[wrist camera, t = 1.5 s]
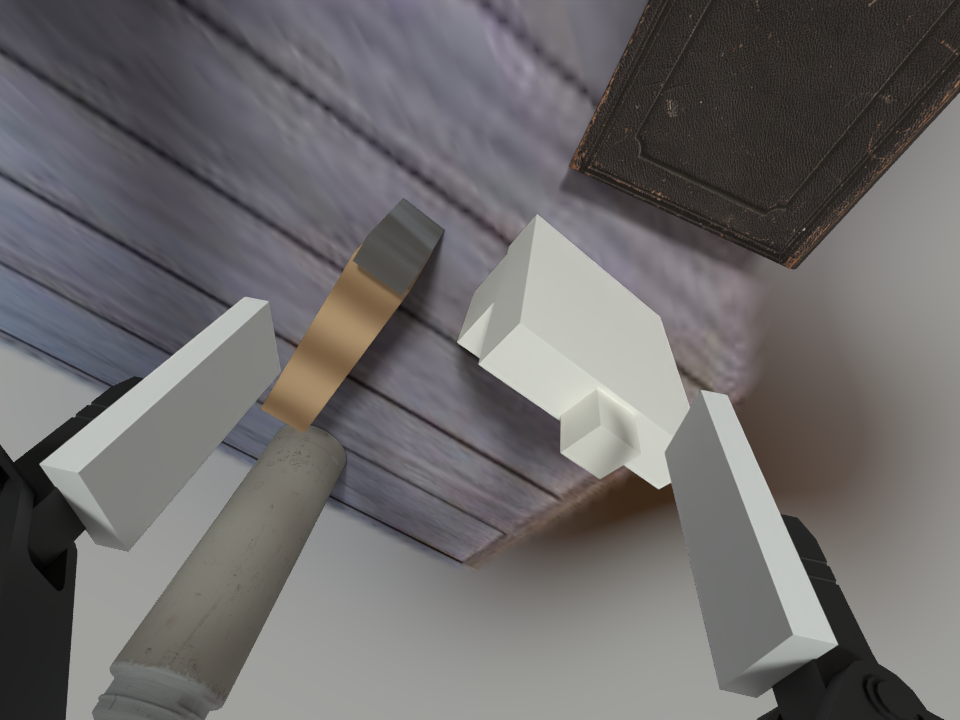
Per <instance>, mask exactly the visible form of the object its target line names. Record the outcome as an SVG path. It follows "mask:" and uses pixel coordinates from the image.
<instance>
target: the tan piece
mask: <svg viewBox="0 0 960 720" xmlns="http://www.w3.org/2000/svg"><path fill="white" fill-rule="evenodd" d="M444 231H445V230H444V229H443V228H442V227H440V226H439V225H438V224H436V223H435V222H434V221H433V220H431V219H430V218H429V217H427V216H426V215H425V214H423V213H422V212H421V211H420V210H418V209H417V208H416V207H414V206H413V205H412V204H410V203H409V202H408V201H407V200H405V199H404V198H403V199H402V200H401V201H400V202H399V203H398V204H397V205H396V206H395V208H394V209H393V210H392V211H391V212H390V213H389V214H388V215H387V216H386V217H385V218H384V219H383V220H382V221H381V222H380V223H379V224H378V225H377V226H376V227H375V228H374V229H373V230H372V232H371V233H370V234H369V235H368V236H367V237H366V239H365V241H364V242H363V244H362V245H361V246H360V247H359V248H358V249H357V250H356V251H355V252H354V254H353V256H352V257H351V259H350V261H349V262H348V264H347V266H346V267H345V269H344V271H343V272H342V274H341V276H340V277H339V279H338V281H337V282H336V284H335V286H334V287H333V289H332V291H331V292H330V294H329V296H328V297H327V299H326V301H325V302H324V304H323V306H322V307H321V309H320V311H319V312H318V314H317V316H316V317H315V319H314V321H313V322H312V324H311V326H310V327H309V329H308V331H307V332H306V334H305V336H304V337H303V339H302V341H301V342H300V344H299V346H298V347H297V349H296V351H295V352H294V354H293V356H292V357H291V359H290V361H289V362H288V364H287V366H286V367H285V369H284V371H283V372H282V374H281V376H280V377H279V379H278V381H277V382H276V384H275V386H274V387H273V389H272V391H271V392H270V394H269V396H268V397H267V399H266V401H265V402H264V404H263V406H262V407H261V409H262V410H263V411H265V412H267V413H269V414H270V415H272V416H274V417H276V418H277V419H279V420H281V421H283V422H284V423H286V424H288V425H290V426H292V427H293V428H295V429H297V430H299V431H300V432H302V433H305V431H306V430H307V429H308V427H309V426H310V425H311V423H312V422H313V420H314V419H315V418H316V416H317V415H318V414H319V412H320V411H321V410H322V408H323V407H324V406H325V404H326V403H327V402H328V400H329V399H330V398H331V396H332V395H333V394H334V392H335V391H336V390H337V388H338V387H339V386H340V384H341V383H342V381H343V380H344V379H345V377H346V376H347V375H348V373H349V372H350V371H351V369H352V368H353V367H354V365H355V364H356V363H357V361H358V360H359V359H360V357H361V356H362V355H363V353H364V352H365V351H366V349H367V348H368V347H369V345H370V344H371V342H372V341H373V340H374V338H375V337H376V336H377V334H378V333H379V332H380V330H381V329H382V328H383V326H384V325H385V324H386V322H387V321H388V320H389V318H390V317H391V316H392V314H393V313H394V312H395V310H396V309H397V308H398V306H399V305H400V304H401V302H402V301H403V299H404V298H405V297H406V295H407V294H408V293H409V291H410V290H411V288H412V287H413V285H414V283H415V282H416V280H417V278H418V276H419V275H420V273H421V271H422V270H423V268H424V266H425V265H426V263H427V261H428V260H429V258H430V256H431V255H432V253H433V252H432V250H433V249H434V247H435V245H436V244H437V242H438V240H439V239H440V237H441V235H442V234H443V232H444Z"/></svg>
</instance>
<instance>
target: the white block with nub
mask: <svg viewBox="0 0 960 720" xmlns="http://www.w3.org/2000/svg"><path fill="white" fill-rule="evenodd" d="M457 343H459V344H460V345H461V346H463V347H464V348H466V349H467V350H469V351H470V352H471V353H473V354H474V355H476V356H477V357H479V358H480V360H479V363H478V365H480V366H481V367H483V368H484V369H485V370H487V371H488V372H490V373H491V374H493V375H494V376H496V377H497V378H498V379H500V380H501V381H503V382H504V383H506V384H507V385H509V386H510V387H511V388H513V389H514V390H516V391H517V392H519V393H520V394H522V395H523V396H524V397H526V398H527V399H529V400H530V401H532V402H533V403H535V404H536V405H538V406H539V407H540V408H542V409H543V410H545V411H546V412H548V413H549V414H551V415H552V416H553V417H555V418H556V419H558V420H559V421H561V437H560V453H561V454H563V455H564V456H566V457H567V458H569V459H570V460H572V461H573V462H575V463H576V464H578V465H579V466H581V467H582V468H584V469H585V470H587V471H588V472H590V473H591V474H593V475H594V476H596V477H597V478H599V479H601V478H603V477H604V476H606V475H608V474H609V473H611V472H613V471H614V470H616V469H618V468H619V467H621V466H623V465H624V466H626V467H627V468H629V469H630V470H632V471H633V472H634V473H636V474H637V475H639V476H640V477H642V478H643V479H645V480H646V481H648V482H649V483H650V484H652V485H653V486H655V487H656V488H658V489H660V488H662V487H664V486H665V485H667V484H669V483H671V479H670V475H669V470H668V466H667V462H666V457H665V453H664V452H665V451H666V449H667V447H668V445H669V444H670V442H671V440H672V438H673V437H674V435H675V433H676V432H677V430H678V428H679V426H680V425H681V423H682V421H683V420H684V418H685V416H686V414H687V413H688V411H689V409H690V406H689V403H688V400H687V397H686V394H685V391H684V388H683V385H682V382H681V379H680V376H679V373H678V370H677V367H676V364H675V361H674V358H673V355H672V352H671V349H670V346H669V343H668V339H667V336H666V333H665V330H664V327H663V324H662V321H661V318H660V316H658V315H657V314H656V313H655V312H654V311H652V310H651V309H650V308H649V307H648V306H646V305H645V304H644V303H643V302H642V301H640V300H639V299H638V298H637V297H636V296H634V295H633V294H632V293H631V292H630V291H628V290H627V289H626V288H625V287H624V286H623V285H621V284H620V283H619V282H618V281H617V280H615V279H614V278H613V277H612V276H611V275H609V274H608V273H607V272H606V271H605V270H603V269H602V268H601V267H600V266H599V265H597V264H596V263H595V262H594V261H593V260H591V259H590V258H589V257H588V256H587V255H585V254H584V253H583V252H582V251H581V250H579V249H578V248H577V247H576V246H575V245H573V244H572V243H571V242H570V241H569V240H568V239H566V238H565V237H564V236H563V235H562V234H560V233H559V232H558V231H557V230H556V229H554V228H553V227H552V226H551V225H550V224H548V223H547V222H546V221H545V220H544V219H542V218H541V217H540V216H539V215H538V214H536V215H535V217H534V218H533V219H532V220H531V221H530V222H529V224H528V225H527V226H526V227H525V228H524V230H523V231H522V232H521V233H520V234H519V235H518V237H517V238H516V239H515V240H514V241H513V242H512V244H511V245H510V246H509V248H508V252H507V255H506V256H505V257H504V258H503V259H502V260H501V262H500V263H499V264H498V265H497V266H496V267H495V269H494V270H493V271H492V272H491V273H490V274H489V276H488V277H487V278H486V279H485V280H484V281H483V282H482V284H481V285H480V286H479V287H478V288H477V289H476V291H475V292H474V295H473V298H472V301H471V304H470V307H469V309H468V312H467V315H466V318H465V321H464V324H463V327H462V330H461V333H460V335H459V338H458V341H457Z"/></svg>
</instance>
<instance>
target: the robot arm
mask: <svg viewBox="0 0 960 720" xmlns="http://www.w3.org/2000/svg"><path fill="white" fill-rule="evenodd" d="M280 372H281V369H280V363H279V357H278V351H277V346H276V340H275V334H274V328H273V322H272V316H271V311H270V305H269V301H264V300H259V299H254V298H250V297H244V298H242V299H241V300H240V301H239V302H238V303H236V304H235V305H234V306H233V307H231V308H230V309H229V310H228V311H226V312H225V313H224V314H223V315H222V316H220V317H219V318H218V319H217V320H215V321H214V322H213V323H212V324H211V325H209V326H208V327H207V328H206V329H204V330H203V331H202V332H201V333H199V334H198V335H197V336H196V337H195V338H193V339H192V340H191V341H190V342H188V343H187V344H186V345H185V346H184V347H182V348H181V349H180V350H179V351H177V352H176V353H175V354H174V355H172V356H171V357H170V358H169V359H168V360H166V361H165V362H164V363H163V364H161V365H160V366H159V367H158V368H157V369H155V370H154V371H153V372H152V373H150V374H149V375H148V376H147V377H146V378H139V377H135V376H134V377H132V378H130V379H128V380H126V381H123V382H121V383H119V384H117V385H115V386H113V387H110V388H109V389H108V390H107V391H105V392H104V393H103V394H101V395H100V396H99V397H98V398H96V399H95V400H94V401H93V402H92V404H91V405H90V406H89V405H87V406H86V407H85V408H83V409H82V410H81V411H79V412H78V413H77V414H76V417H75V418H73V417H72V418H70V419H69V420H68V421H67V422H65V423H64V424H63V425H61V426H60V427H59V428H57V429H56V430H55V431H54V432H52V433H51V434H50V435H48V436H47V437H46V438H45V439H43V440H42V441H41V442H39V443H38V444H37V445H36V446H34V447H33V448H32V449H30V450H29V451H28V452H26V453H25V454H24V455H23V456H21V457H20V458H19V459H17V460H16V461H15V462H13V461H12V460H11V458H10V457H9V456H8V454H7V453H6V452H5V450H4V449H3V448H2V446H1V445H0V720H65V719H66V706H67V692H68V678H69V663H70V650H71V636H72V621H73V607H74V591H75V579H76V565H77V548H76V544H75V543H74V541H75V540H76V539H77V537H78V536H79V535H80V534H81V533H82V532H83V531H84V530H86V531H87V532H88V534H89V535H90V537H91V538H92V539H93V541H94V542H95V544H97V545H102V546H106V547H111V548H115V549H119V550H123V551H127V552H128V551H129V550H130V549H131V548H132V547H133V546H134V544H135V543H136V542H137V541H138V540H139V539H140V537H141V536H142V535H143V534H144V533H145V531H146V530H147V529H148V528H149V527H150V526H151V524H152V523H153V522H154V521H155V520H156V518H157V517H158V516H159V515H160V514H161V513H162V511H163V510H164V509H165V508H166V507H167V505H168V504H169V503H170V502H171V501H172V500H173V498H174V497H175V496H176V495H177V493H178V492H179V491H180V490H181V489H182V488H183V487H184V485H185V484H186V483H187V482H188V481H189V479H190V478H191V477H192V476H193V475H194V474H195V472H196V471H197V470H198V469H199V468H200V466H201V465H202V464H203V463H204V462H205V461H206V459H207V458H208V457H209V456H210V455H211V454H212V452H213V451H214V450H215V449H216V448H217V446H218V445H219V444H220V443H221V442H222V441H223V439H224V438H225V437H226V436H227V435H228V433H229V432H230V431H231V430H232V429H233V428H234V426H235V425H236V424H237V423H238V422H239V420H240V419H241V418H242V417H243V416H244V415H245V413H246V412H247V411H248V410H249V409H250V407H251V406H252V405H253V404H254V403H255V402H256V400H257V399H258V398H259V397H260V396H261V394H262V393H263V392H264V391H265V390H266V389H267V387H268V386H269V385H270V384H271V383H272V381H273V380H274V379H275V378H276V377H277V376H278V374H279V373H280ZM664 453H665V457H666V462H667V466H668V470H669V475H670V479H671V483H672V487H673V492H674V496H675V500H676V504H677V508H678V513H679V517H680V521H681V526H682V530H683V534H684V538H685V543H686V547H687V551H688V556H689V560H690V564H691V568H692V572H693V577H694V581H695V586H696V590H697V594H698V598H699V603H700V607H701V611H702V615H703V620H704V624H705V628H706V632H707V637H708V641H709V645H710V649H711V654H712V658H713V662H714V667H715V671H716V675H717V679H718V684H719V688H720V689H721V690H725V691H729V692H734V693H738V694H742V695H746V696H751V697H755V698H757V697H759V696H760V695H762V694H763V693H765V692H766V691H768V690H769V689H771V688H773V692H774V695H775V698H776V701H777V704H778V707H776V708H774V709H773V710H771V711H769V712H768V713H766V714H764V715H763V716H761V717H759V718H758V719H757V720H944V719H941V718H940V717H938V716H936V715H934V714H933V713H931V712H929V711H927V710H926V708H925V707H924V705H923V704H922V702H921V701H920V700H919V698H918V697H917V696H916V694H915V693H914V692H913V690H912V689H910V687H908V686H907V685H906V684H905V683H904V682H903V681H902V680H901V679H900V678H899V677H898V676H897V675H895V674H894V673H892V672H891V671H889V670H888V669H886V668H884V667H883V666H881V665H879V664H878V662H877V661H876V659H875V657H874V655H873V654H872V652H871V650H870V647H869V646H868V643H867V642H866V639H865V637H864V635H863V633H862V631H861V629H860V627H859V625H858V623H857V621H856V619H855V617H854V615H853V613H852V611H851V609H850V607H849V605H848V603H847V601H846V599H845V597H844V595H843V593H842V591H841V589H840V587H839V585H836V579H835V577H834V575H833V573H832V571H831V569H830V567H829V566H827V564H826V563H827V561H826V559H825V556H824V554H823V552H822V550H821V548H820V547H819V544H818V542H817V540H816V539H815V538H814V536H813V535H812V534H811V533H810V532H809V530H808V529H807V528H806V527H805V526H804V525H803V524H802V522H801V521H800V520H799V519H798V518H796V517H792V516H787V515H782V514H780V513H779V511H778V508H777V506H776V504H775V502H774V499H773V497H772V495H771V493H770V490H769V488H768V486H767V484H766V482H765V479H764V477H763V475H762V473H761V470H760V468H759V466H758V464H757V461H756V459H755V457H754V454H753V452H752V450H751V448H750V446H749V443H748V441H747V439H746V437H745V434H744V432H743V430H742V428H741V425H740V423H739V421H738V419H737V416H736V414H735V412H734V410H733V407H732V405H731V403H730V401H729V398H728V396H727V395H724V394H719V393H714V392H709V391H704V390H700V392H699V394H698V395H697V397H696V399H695V401H694V402H693V404H692V406H691V407H690V409H689V411H688V413H687V414H686V416H685V418H684V420H683V421H682V423H681V425H680V426H679V428H678V430H677V432H676V433H675V435H674V437H673V438H672V440H671V442H670V444H669V445H668V447H667V449H666V451H665V452H664Z"/></svg>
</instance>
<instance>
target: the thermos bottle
mask: <svg viewBox="0 0 960 720" xmlns="http://www.w3.org/2000/svg"><path fill="white" fill-rule="evenodd" d="M346 459H347V458H346V453H345V450H344V448H343V446H342V445H341V443H340V442H339V441H338V440H337V439H336V438H335V437H333V436H332V435H331V434H329V433H328V432H326V431H324V430H323V429H320V428H318V427H315V426H312V425H310V426H309V427H308V429H307V430H306V431H305V433H302V432H300V431H299V430H297V429H295V428H293V427H292V426H290V425H286V426H284V427H282V428H281V429H280V430H279V431H278V432H277V434H276V435H275V436H274V438H273V439H272V440H271V442H270V443H269V444H268V446H267V447H266V449H265V450H264V452H263V453H262V455H261V456H260V458H259V459H258V460H257V462H256V463H255V465H254V466H253V467H252V469H251V470H250V471H249V473H248V474H247V476H246V477H245V478H244V480H243V481H242V483H241V484H240V485H239V487H238V488H237V490H236V491H235V492H234V494H233V495H232V497H231V498H230V499H229V501H228V503H227V504H226V505H225V507H224V508H223V510H222V511H221V512H220V514H219V515H218V517H217V518H216V520H215V521H214V522H213V524H212V525H211V527H210V528H209V529H208V531H207V532H206V533H205V535H204V536H203V537H202V539H201V540H200V541H199V543H198V544H197V546H196V547H195V548H194V550H193V551H192V553H191V554H190V555H189V557H188V558H187V560H186V561H185V562H184V564H183V565H182V567H181V568H180V569H179V571H178V572H177V574H176V575H175V576H174V578H173V579H172V581H171V582H170V583H169V585H168V586H167V588H166V589H165V590H164V592H163V594H162V595H161V596H160V597H159V599H158V600H157V602H156V603H155V605H154V606H153V607H152V609H151V610H150V612H149V613H148V614H147V616H146V617H145V618H144V620H143V621H142V623H141V624H140V625H139V627H138V628H137V630H136V631H135V632H134V634H133V635H132V637H131V638H130V640H129V641H128V642H127V644H126V645H125V646H124V648H123V649H122V651H121V652H120V653H119V655H118V656H117V658H116V659H115V660H114V662H113V663H112V665H111V666H110V672H111V674H112V675H113V676H114V680H113V682H112V683H111V685H110V686H109V688H108V689H107V690H106V692H105V693H104V694H102V695H101V696H99V698H98V699H99V702H98V703H97V705H96V706H95V708H94V709H93V711H92V714H93V717H94V720H205V718H206V716H207V714H208V713H209V711H213V710H218V709H220V708H222V706H223V705H224V703H225V701H226V699H227V697H228V695H229V693H230V691H231V689H232V686H233V685H234V683H235V681H236V679H237V677H238V675H239V673H240V671H241V669H242V667H243V665H244V663H245V661H246V659H247V657H248V656H249V653H250V652H251V649H252V648H253V646H254V644H255V642H256V640H257V638H258V636H259V634H260V632H261V630H262V628H263V626H264V624H265V622H266V620H267V618H268V616H269V614H270V612H271V610H272V608H273V606H274V604H275V602H276V600H277V598H278V596H279V594H280V592H281V590H282V588H283V586H284V584H285V582H286V580H287V578H288V576H289V574H290V573H291V570H292V568H293V566H294V565H295V562H296V560H297V559H298V557H299V555H300V553H301V551H302V549H303V547H304V545H305V543H306V541H307V539H308V537H309V535H310V533H311V531H312V529H313V527H314V525H315V523H316V521H317V519H318V517H319V515H320V513H321V511H322V509H323V507H324V505H325V503H326V501H327V499H328V497H329V495H330V493H331V491H332V489H333V488H334V486H335V484H336V482H337V480H338V478H339V476H340V474H341V472H342V470H343V468H344V466H345V464H346Z"/></svg>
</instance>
